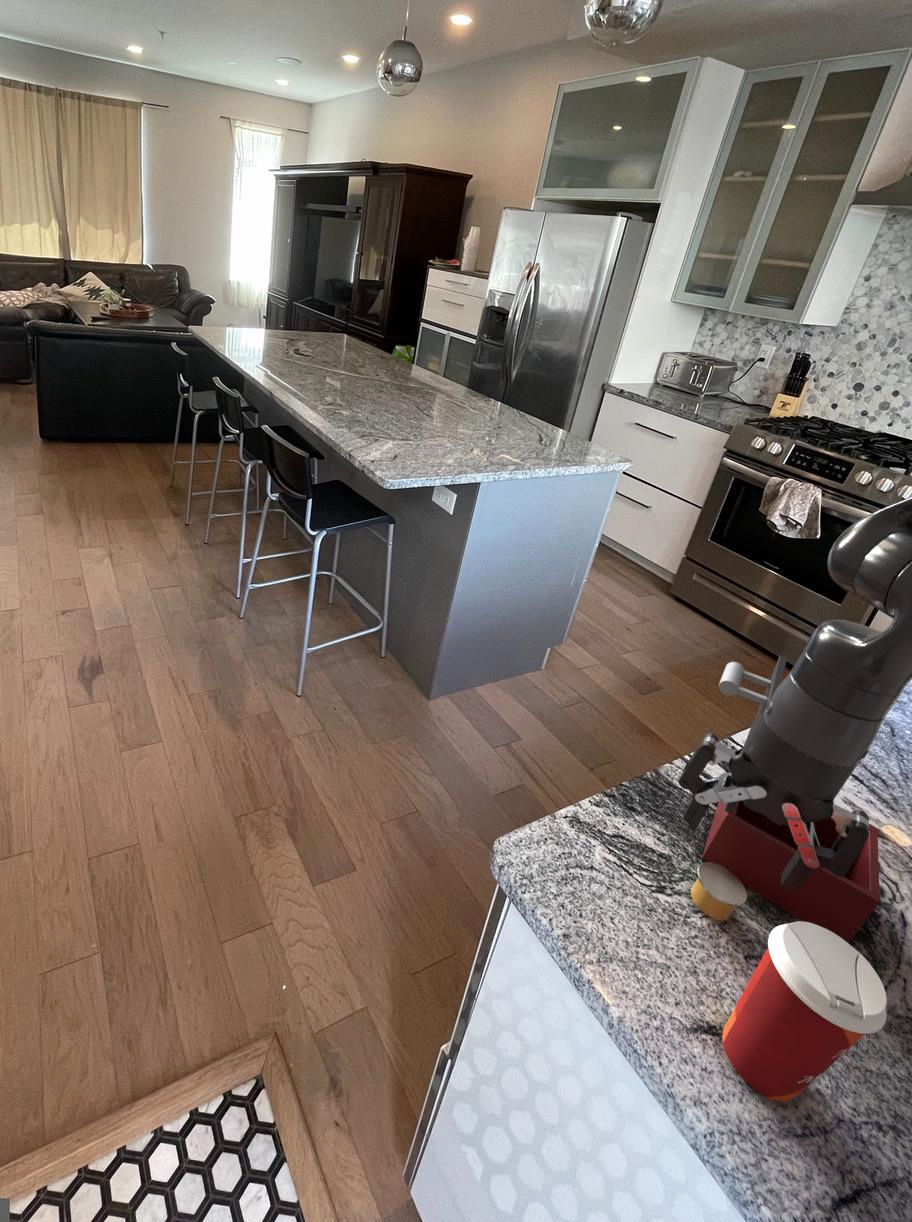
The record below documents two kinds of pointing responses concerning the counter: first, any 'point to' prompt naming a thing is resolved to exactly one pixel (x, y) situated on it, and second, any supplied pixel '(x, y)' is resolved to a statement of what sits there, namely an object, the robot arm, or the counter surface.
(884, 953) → the counter surface
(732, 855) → the box
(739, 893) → the cylinder
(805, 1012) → the paper cup
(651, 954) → the counter surface
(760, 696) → the lid
